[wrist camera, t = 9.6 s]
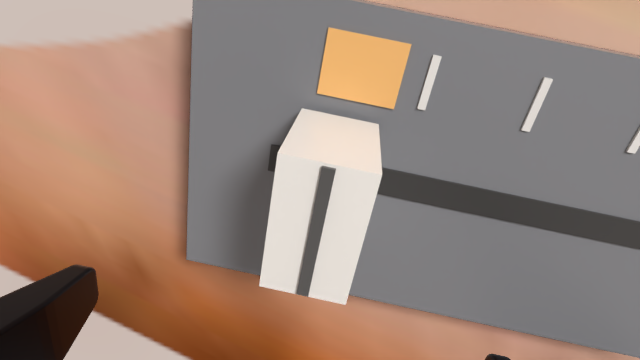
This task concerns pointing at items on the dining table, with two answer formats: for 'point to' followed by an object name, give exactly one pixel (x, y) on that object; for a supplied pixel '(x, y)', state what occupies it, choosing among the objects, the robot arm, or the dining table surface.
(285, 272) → the fader knob
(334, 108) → the fader console
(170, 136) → the dining table surface
